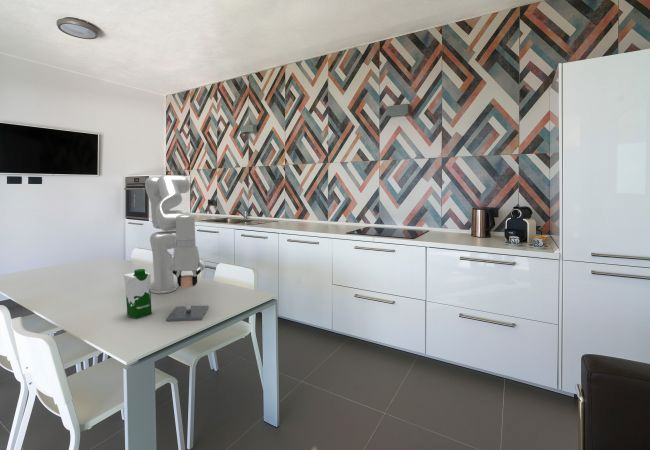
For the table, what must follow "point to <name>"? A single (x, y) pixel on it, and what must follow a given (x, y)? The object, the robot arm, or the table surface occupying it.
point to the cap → (186, 281)
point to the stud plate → (187, 313)
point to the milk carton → (138, 293)
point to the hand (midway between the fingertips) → (187, 284)
